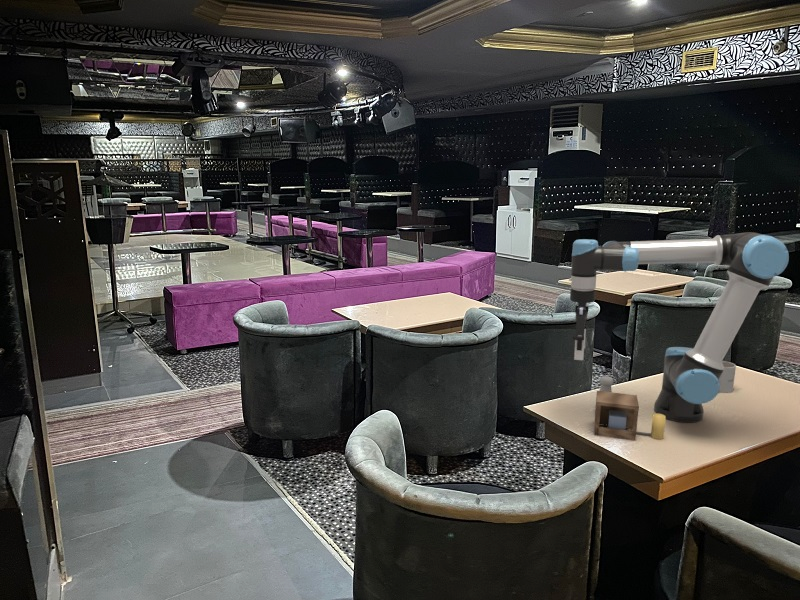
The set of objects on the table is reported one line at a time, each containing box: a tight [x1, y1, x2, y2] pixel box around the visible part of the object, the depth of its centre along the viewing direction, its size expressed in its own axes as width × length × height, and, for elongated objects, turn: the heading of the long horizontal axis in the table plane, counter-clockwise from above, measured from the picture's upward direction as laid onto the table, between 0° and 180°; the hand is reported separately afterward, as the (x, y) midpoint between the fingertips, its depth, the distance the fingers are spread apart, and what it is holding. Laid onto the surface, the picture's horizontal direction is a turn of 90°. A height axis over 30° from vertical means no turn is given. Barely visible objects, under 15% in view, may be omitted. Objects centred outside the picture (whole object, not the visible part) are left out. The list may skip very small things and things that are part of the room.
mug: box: [718, 360, 737, 394], centre depth 223 cm, size 12×9×10 cm
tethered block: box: [607, 410, 667, 440], centre depth 184 cm, size 16×5×7 cm, turn 72°
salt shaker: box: [594, 375, 614, 408], centre depth 200 cm, size 6×6×13 cm
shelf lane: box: [593, 390, 640, 441], centre depth 186 cm, size 12×10×11 cm
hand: (579, 353), depth 191 cm, fingers open, 13 cm apart
